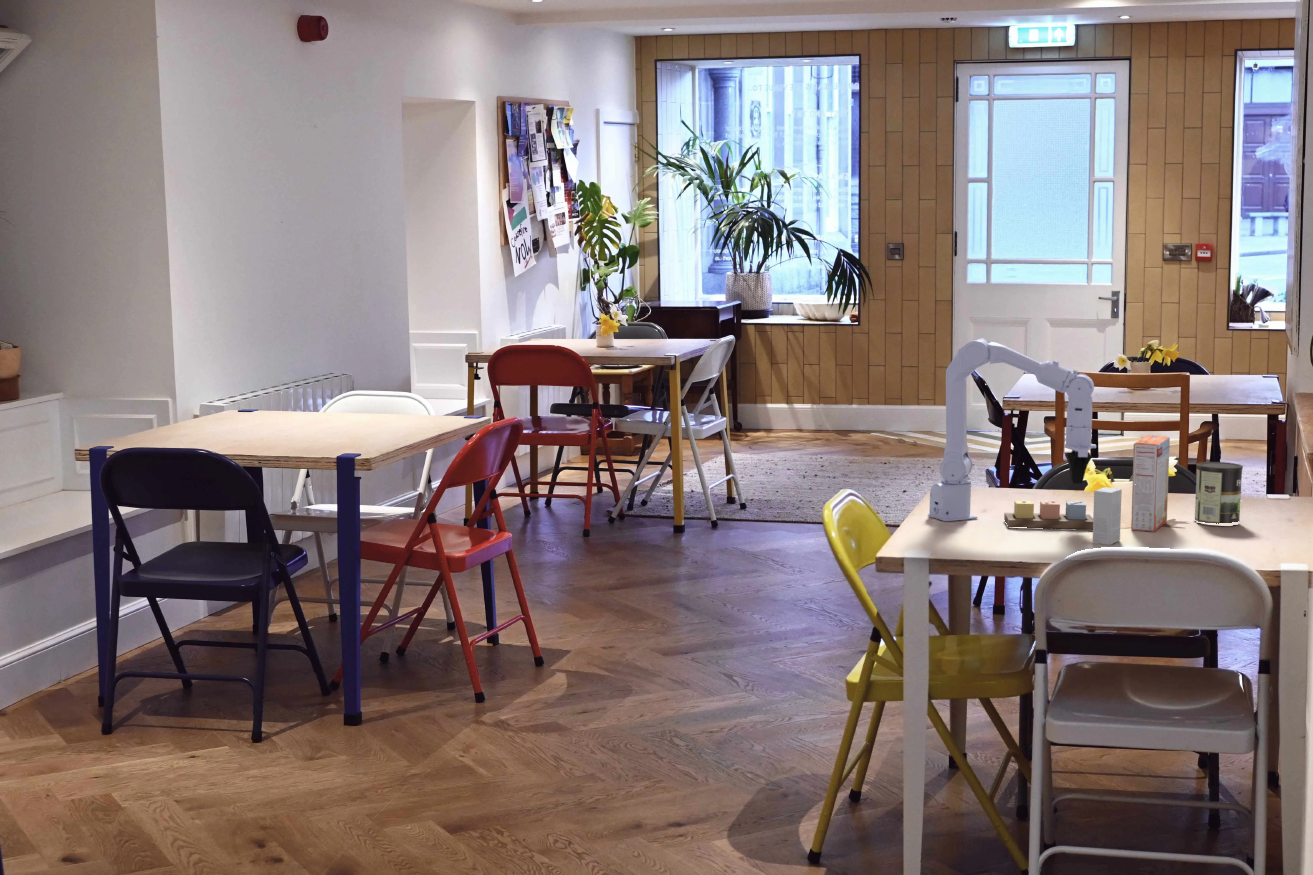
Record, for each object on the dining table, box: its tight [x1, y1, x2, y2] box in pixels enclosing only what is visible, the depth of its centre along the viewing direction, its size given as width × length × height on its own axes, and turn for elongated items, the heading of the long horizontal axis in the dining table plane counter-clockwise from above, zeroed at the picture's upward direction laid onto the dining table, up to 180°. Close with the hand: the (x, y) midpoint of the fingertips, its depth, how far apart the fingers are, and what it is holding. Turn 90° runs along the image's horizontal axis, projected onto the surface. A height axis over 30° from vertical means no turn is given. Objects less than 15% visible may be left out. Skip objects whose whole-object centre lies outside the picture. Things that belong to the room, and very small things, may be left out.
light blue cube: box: [1065, 500, 1087, 520], centre depth 330 cm, size 4×4×4 cm
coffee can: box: [1194, 461, 1244, 524], centre depth 334 cm, size 10×10×14 cm
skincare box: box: [1092, 486, 1122, 546], centre depth 313 cm, size 6×4×12 cm
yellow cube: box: [1013, 500, 1035, 518], centre depth 332 cm, size 4×4×4 cm
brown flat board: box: [1003, 512, 1093, 531], centre depth 332 cm, size 20×9×2 cm, turn 82°
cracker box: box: [1130, 435, 1171, 533], centre depth 329 cm, size 14×6×21 cm, turn 149°
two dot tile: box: [1039, 500, 1061, 519], centre depth 331 cm, size 4×4×4 cm
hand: (1076, 482), depth 330 cm, fingers closed
